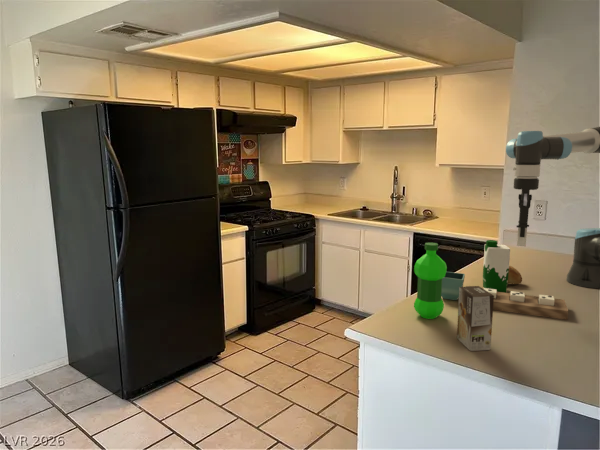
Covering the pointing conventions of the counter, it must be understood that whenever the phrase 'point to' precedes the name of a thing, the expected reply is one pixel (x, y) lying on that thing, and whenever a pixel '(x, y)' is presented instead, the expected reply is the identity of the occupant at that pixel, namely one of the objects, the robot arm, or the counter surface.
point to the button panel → (530, 306)
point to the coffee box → (475, 318)
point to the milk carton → (496, 266)
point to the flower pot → (452, 285)
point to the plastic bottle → (429, 283)
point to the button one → (491, 291)
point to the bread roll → (514, 276)
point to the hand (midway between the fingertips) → (521, 245)
